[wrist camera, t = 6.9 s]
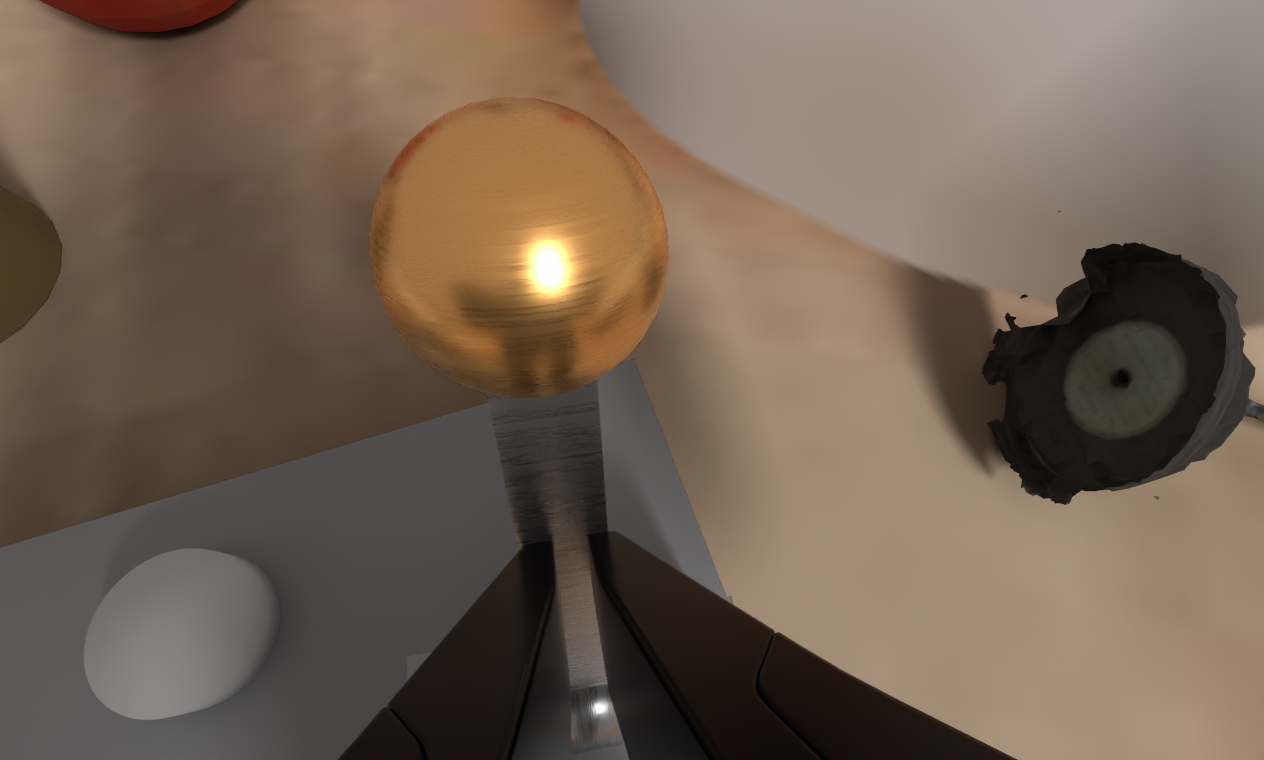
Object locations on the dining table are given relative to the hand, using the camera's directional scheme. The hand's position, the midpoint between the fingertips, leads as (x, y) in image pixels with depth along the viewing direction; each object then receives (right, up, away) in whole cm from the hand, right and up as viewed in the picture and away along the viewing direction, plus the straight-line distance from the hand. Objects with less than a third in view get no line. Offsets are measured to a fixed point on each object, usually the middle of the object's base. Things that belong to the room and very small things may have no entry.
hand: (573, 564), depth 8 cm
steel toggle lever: (0, -4, +4) cm, 5 cm away
